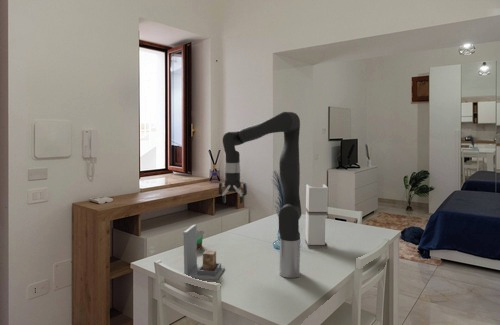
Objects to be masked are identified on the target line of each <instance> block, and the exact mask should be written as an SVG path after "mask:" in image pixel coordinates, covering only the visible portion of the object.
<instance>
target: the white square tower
mask: <svg viewBox="0 0 500 325" xmlns="http://www.w3.org/2000/svg"><path fill="white" fill-rule="evenodd" d="M305 185H306V186H305V187H306V190H305V233H304V234H305V239H304V241H305V244H306V247H307V248H308V249H327V248H328V245H327V242H326V219H328V208H329V206H328V205H329V187H328V186H327V185H326V184H324V183H323V184H322V186H318V187H316V186H310V185H309V184H305Z"/></svg>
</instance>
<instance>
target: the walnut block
mask: <svg viewBox="0 0 500 325" xmlns="http://www.w3.org/2000/svg"><path fill="white" fill-rule="evenodd" d="M216 263H217V251H216V250H211V249H210V250H209V249H208V250H207V249H205V250H204V252H203V253H202V264H203V270H208V271H214V270H215V269H216Z"/></svg>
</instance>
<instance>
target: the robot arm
mask: <svg viewBox="0 0 500 325" xmlns="http://www.w3.org/2000/svg"><path fill="white" fill-rule="evenodd" d="M300 128H301V120H300V117H299V115H298V114H297V113H295V112H293V111H282V112H280V113H278V114H276V115H274V116H273V117H270V118H269V119H266V120H263V121H261V122H257V123H255V124H251V125H249V126H246V127H243V128H241V129H240V130H237V131H227V132H225V133H224V134H223V136H222V145H223V150H224V153H225V164H224V165H225V168H224V170H225V171H224V173H225V174H224V175H225V177H224V179H225V180H224V182H221V181H220V182H219V183H218V195H220V196H221V197H222V199H221V201H222V203H223V204H225V203H227V199H226V198H227V195H226V194H227V193H228V192H230V193H231V192H233V193H234V192H236V193H237V194H238V195H239V204H240V205H241V204H243V202H244V196H246V195H247V194H248V188H247V183H246V182H244V183H241V164H240V162H241V160H240V159H241V158H240V152H239V151H238V150H236V146H240V145H243V144H245V143H247V142H248V143H249V142H252V141H255V140H258V139H260V138H262V137H264V136H267V135H270V134H274V133H276V134H277V133H283V140H284V141H283V147H282V150H281V154H280V157H279V165H278V166H279V177H280V178H279V179H280V182H281V186H282V189H283V206H282V207H281V208H280V209H279V212H278V233H279V275H280V276H281V277H283V278H286V279H287V278H288V279H294V278H300V274H301V269H300V268H301V253H300V252H301V251H300V250H301V249H300V248H301V245H300V244H301V233H300V230H299V227H300V225H299V222H300V220H301V219H300V218H301V217H302V206H301V199H300V198H301V197H300V196H301V195H300V184H301V183H300V178H301V176H300V174H301V173H300V172H301V171H300V170H301V169H300V166H301V165H300ZM224 187H225V190H224V191H223V188H224ZM240 187H241V188H243V191H242V190H241V188H240Z"/></svg>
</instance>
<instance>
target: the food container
mask: <svg viewBox="0 0 500 325" xmlns="http://www.w3.org/2000/svg"><path fill="white" fill-rule="evenodd" d="M184 231H185V230H183V231H182V236H184ZM196 232H197V250H199V249H202V247H203V237H204V234H205V230H204V229H202V230H196Z"/></svg>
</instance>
